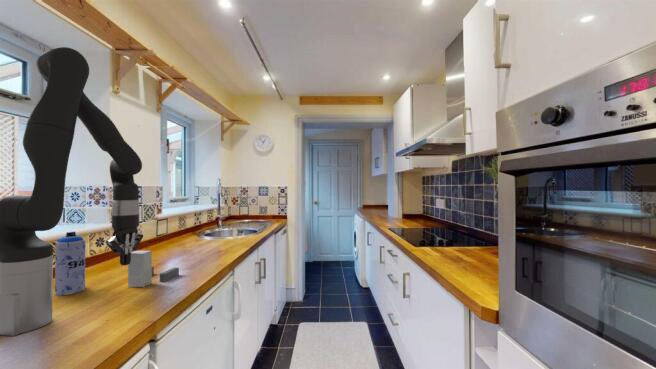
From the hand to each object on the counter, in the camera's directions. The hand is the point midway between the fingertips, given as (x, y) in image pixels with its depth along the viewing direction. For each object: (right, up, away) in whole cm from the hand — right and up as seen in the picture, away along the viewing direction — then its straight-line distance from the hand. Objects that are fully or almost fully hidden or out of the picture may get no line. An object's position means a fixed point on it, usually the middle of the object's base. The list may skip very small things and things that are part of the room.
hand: (125, 264), depth 92 cm
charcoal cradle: (+2, -9, +14) cm, 17 cm away
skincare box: (+1, -9, +6) cm, 11 cm away
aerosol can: (-19, -9, 0) cm, 21 cm away
